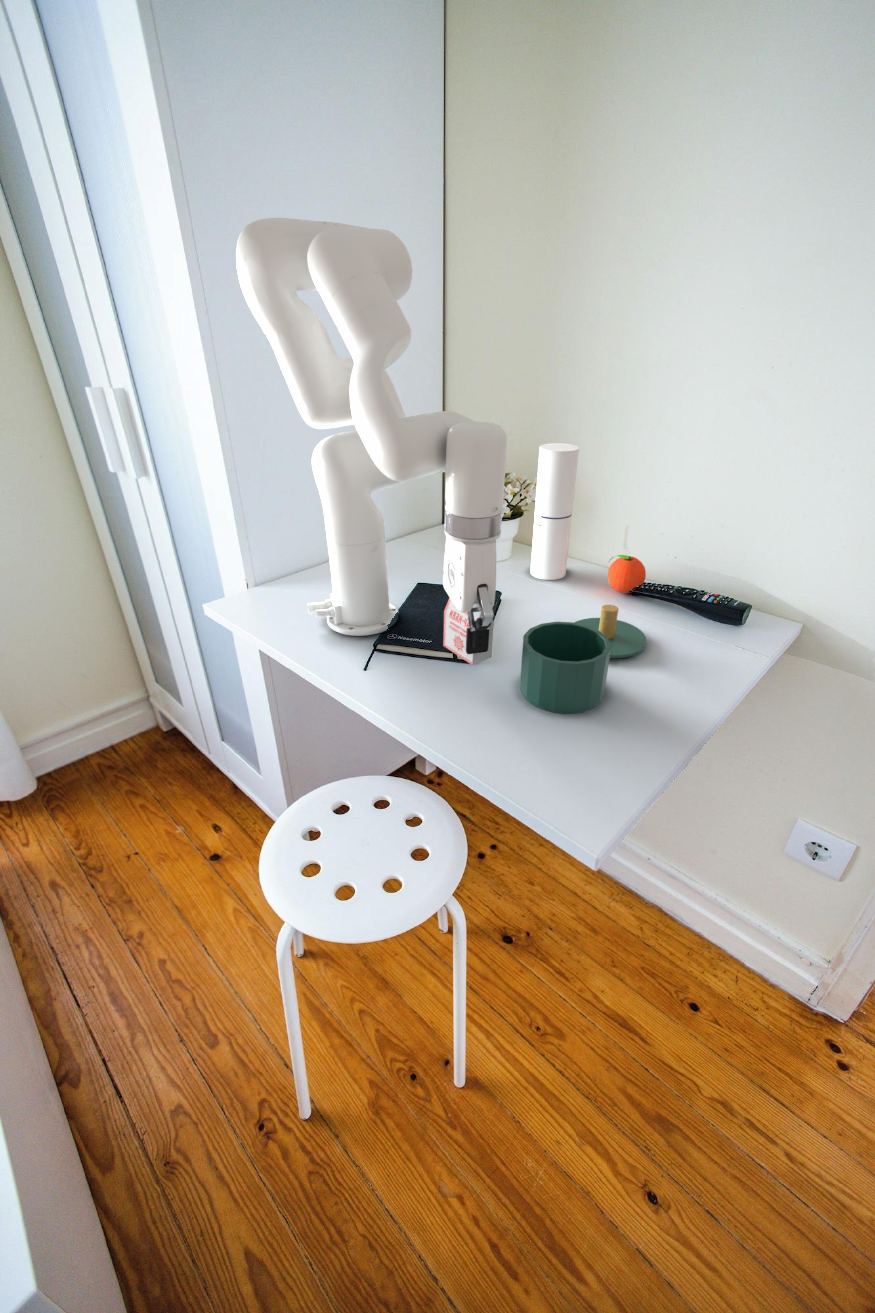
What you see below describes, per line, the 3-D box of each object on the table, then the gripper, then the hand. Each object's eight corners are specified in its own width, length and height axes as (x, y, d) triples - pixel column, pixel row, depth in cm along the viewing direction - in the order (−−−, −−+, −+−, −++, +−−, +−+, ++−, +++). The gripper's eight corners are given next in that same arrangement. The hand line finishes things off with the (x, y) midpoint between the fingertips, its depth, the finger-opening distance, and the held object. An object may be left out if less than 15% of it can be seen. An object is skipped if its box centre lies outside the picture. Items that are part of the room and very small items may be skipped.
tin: (539, 720, 80) (544, 669, 76) (508, 674, 90) (510, 627, 86) (618, 705, 83) (627, 656, 79) (579, 663, 93) (585, 617, 89)
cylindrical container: (555, 582, 119) (568, 453, 106) (524, 574, 123) (532, 448, 110) (571, 571, 124) (585, 446, 111) (540, 563, 128) (551, 441, 115)
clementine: (593, 588, 117) (598, 553, 113) (616, 579, 120) (621, 545, 117) (627, 602, 111) (633, 566, 107) (650, 592, 115) (656, 557, 111)
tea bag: (461, 638, 93) (464, 579, 88) (491, 657, 88) (495, 596, 83) (443, 645, 91) (444, 586, 86) (472, 665, 87) (475, 603, 81)
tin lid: (588, 666, 92) (593, 631, 89) (552, 628, 103) (556, 596, 99) (661, 654, 95) (668, 620, 92) (619, 619, 105) (624, 587, 102)
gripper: (428, 504, 85) (428, 613, 95) (465, 549, 71) (460, 672, 81) (478, 500, 87) (473, 608, 96) (524, 544, 73) (512, 665, 82)
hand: (467, 636), depth 88 cm, fingers closed on tea bag, 7 cm apart
